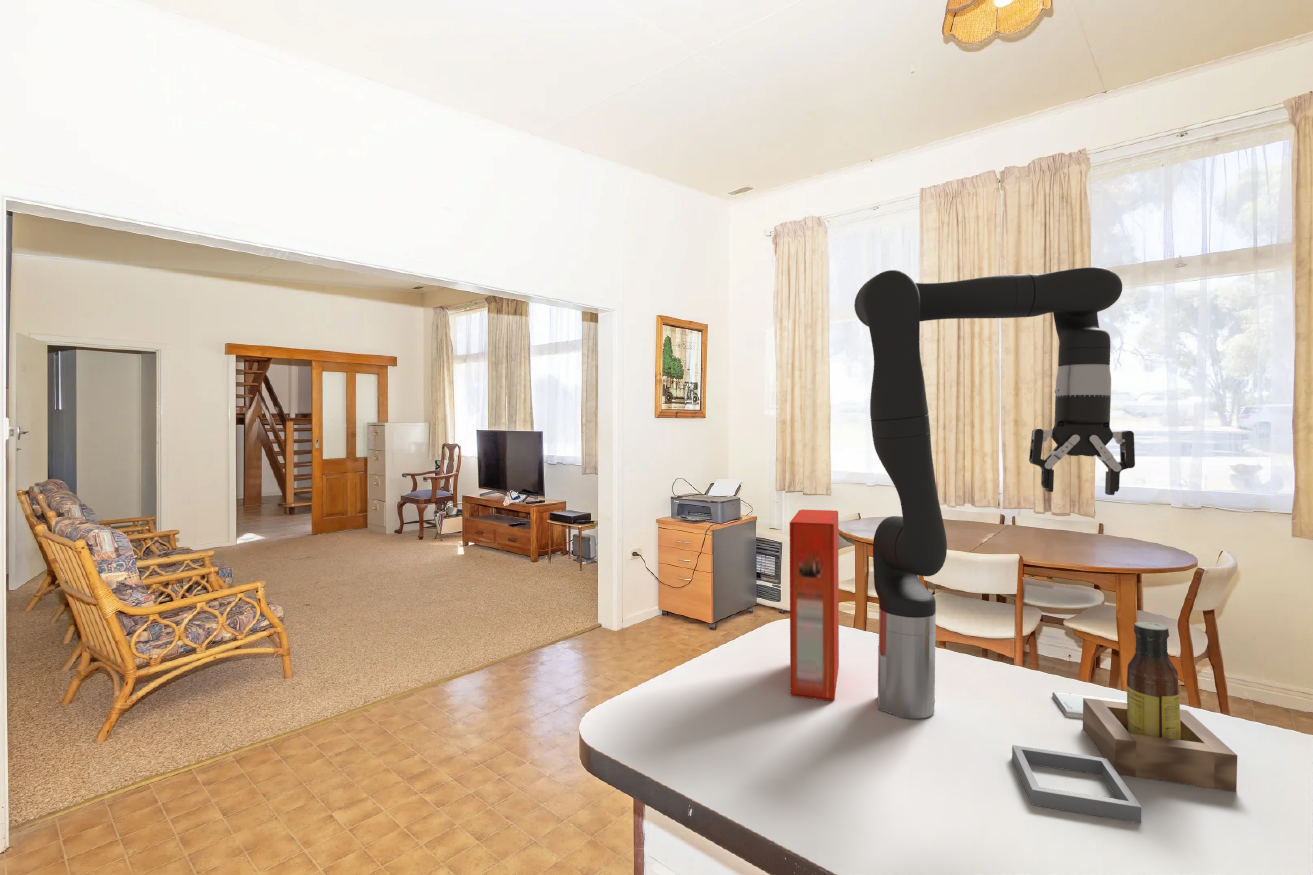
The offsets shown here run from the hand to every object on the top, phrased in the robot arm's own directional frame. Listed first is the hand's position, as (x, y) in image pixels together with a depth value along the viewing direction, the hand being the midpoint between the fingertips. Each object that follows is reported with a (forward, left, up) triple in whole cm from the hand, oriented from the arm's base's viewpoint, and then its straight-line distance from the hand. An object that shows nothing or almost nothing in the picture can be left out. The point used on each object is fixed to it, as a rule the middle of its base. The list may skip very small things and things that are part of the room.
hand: (1079, 493), depth 103 cm
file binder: (-42, +5, -39) cm, 57 cm away
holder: (+8, -8, -38) cm, 40 cm away
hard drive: (+6, +7, -39) cm, 40 cm away
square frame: (-6, -21, -38) cm, 44 cm away
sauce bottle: (+8, -8, -39) cm, 40 cm away
